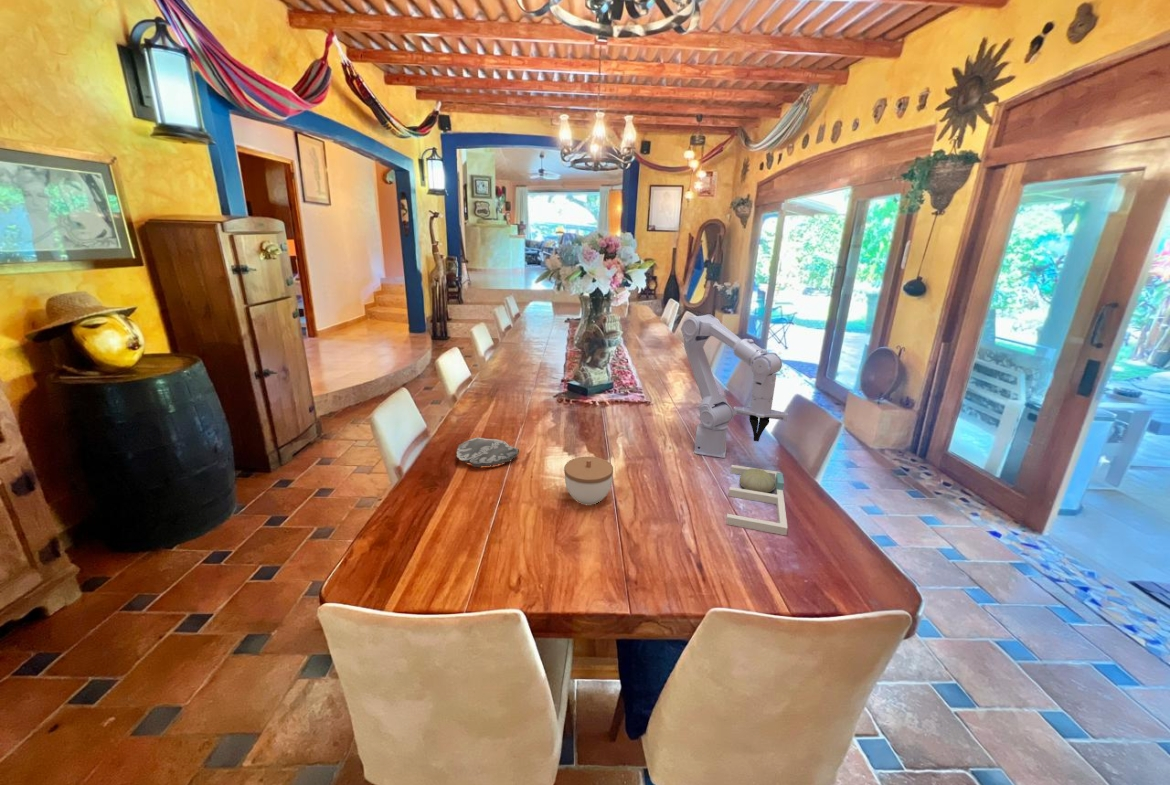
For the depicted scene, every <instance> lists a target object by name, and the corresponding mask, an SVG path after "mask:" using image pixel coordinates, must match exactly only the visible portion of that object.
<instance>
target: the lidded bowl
mask: <svg viewBox="0 0 1170 785" xmlns="http://www.w3.org/2000/svg"><path fill="white" fill-rule="evenodd" d="M563 472H564V482H565V486H566V487H565V488H566V490H567V492H568V494H569V495H570V496H571V498H572V499H573V500H575V501H576V500H577V501H578V502H580V503H581V504H580V505H582V504H587V505H586V506H592V505H591V504H595V505H597V504H596V503H598V502H599V503H601V502H600V501H602V500H604V499H605V498H606V497H607V495H608V494H609V492H610V490H611V487H612V485H613V484H612V482H613V475H614V474H613V473H614V466H613V464H612V463H611V462H609V461H608V460H606V459H604V458H601V457H597V456H580V457H575V458H573V459H571V460H569V461H567V462H566V463H565V465H564V469H563ZM578 502H577V503H578ZM599 503H598V504H599Z"/></svg>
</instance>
